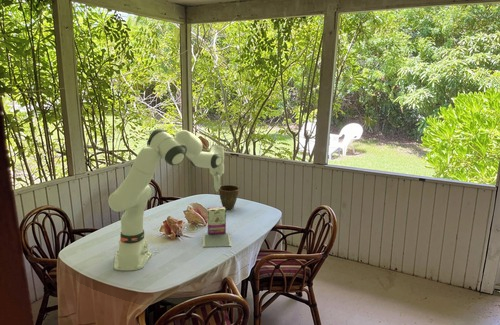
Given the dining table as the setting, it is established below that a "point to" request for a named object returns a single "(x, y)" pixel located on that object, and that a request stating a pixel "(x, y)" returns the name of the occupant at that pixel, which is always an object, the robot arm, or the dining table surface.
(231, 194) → the plant pot
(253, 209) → the dining table surface
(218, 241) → the mat
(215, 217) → the candy bar box
